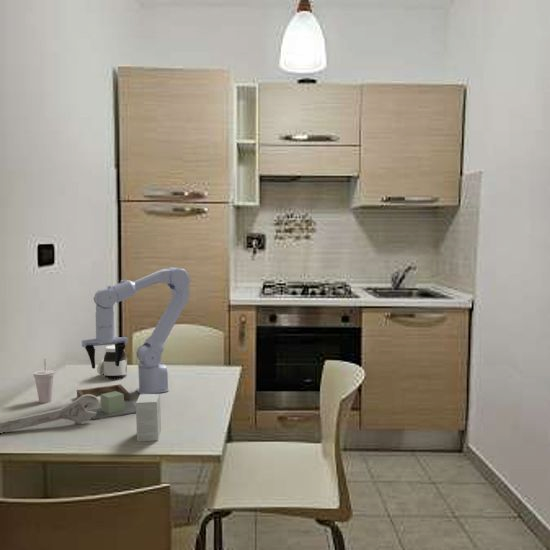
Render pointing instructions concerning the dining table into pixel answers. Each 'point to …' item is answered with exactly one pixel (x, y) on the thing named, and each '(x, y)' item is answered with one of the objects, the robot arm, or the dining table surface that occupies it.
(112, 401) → the cube
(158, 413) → the small box
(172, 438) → the dining table surface
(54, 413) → the wrench
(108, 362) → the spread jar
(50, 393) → the smoothie
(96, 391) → the wooden u-shaped frame
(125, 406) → the mat
